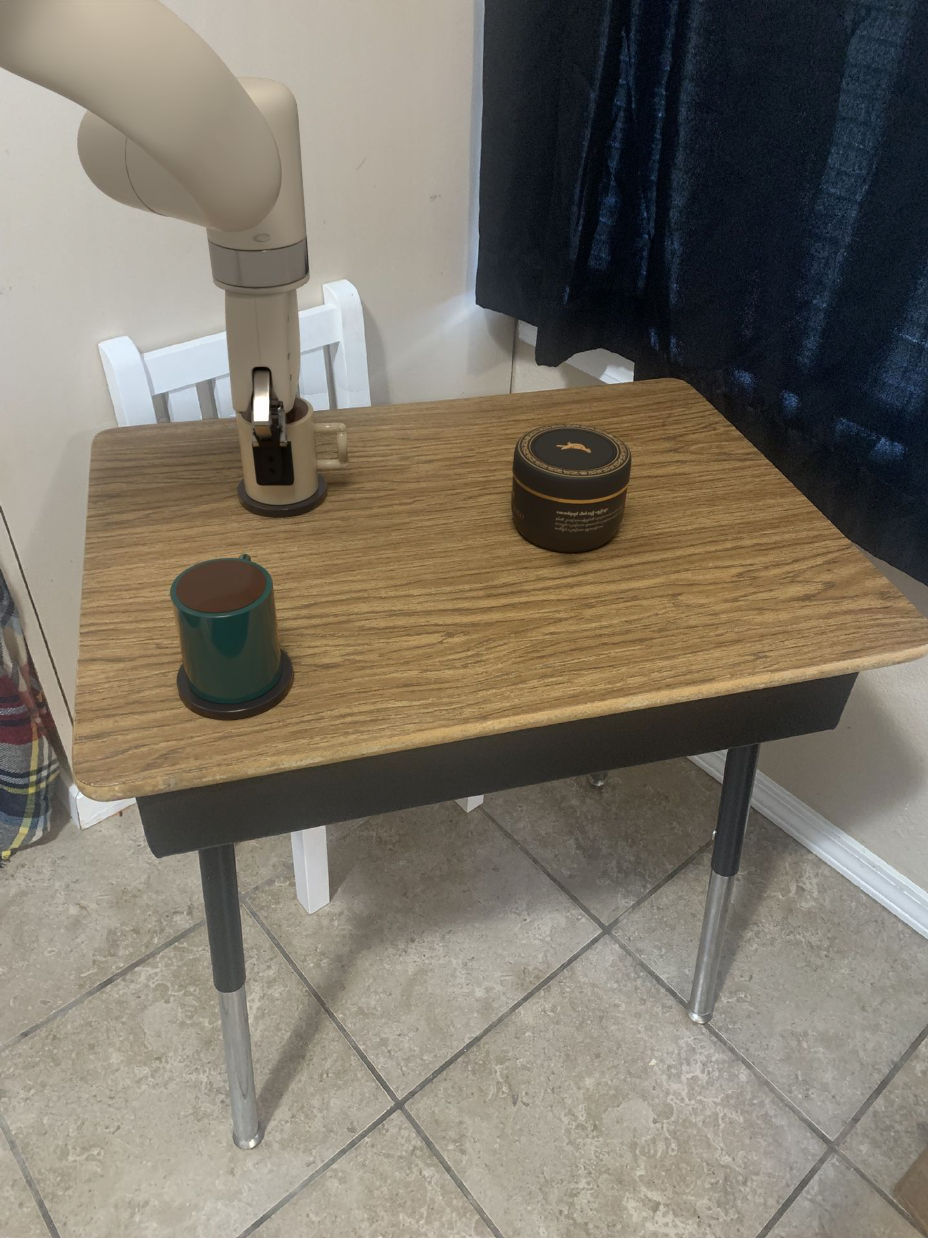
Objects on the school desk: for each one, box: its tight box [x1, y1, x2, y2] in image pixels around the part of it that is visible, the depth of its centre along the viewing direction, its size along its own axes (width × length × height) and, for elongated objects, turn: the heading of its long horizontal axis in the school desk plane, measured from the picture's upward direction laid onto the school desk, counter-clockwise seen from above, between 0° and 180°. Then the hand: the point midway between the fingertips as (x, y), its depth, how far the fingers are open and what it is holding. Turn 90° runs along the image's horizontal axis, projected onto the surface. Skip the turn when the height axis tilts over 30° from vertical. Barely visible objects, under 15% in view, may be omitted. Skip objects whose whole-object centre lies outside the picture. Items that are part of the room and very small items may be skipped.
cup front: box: [169, 553, 282, 704], centre depth 67 cm, size 9×7×8 cm
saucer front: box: [175, 647, 294, 721], centre depth 69 cm, size 8×8×1 cm
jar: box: [510, 423, 632, 553], centre depth 84 cm, size 10×10×8 cm
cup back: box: [235, 395, 349, 505], centre depth 86 cm, size 9×7×8 cm
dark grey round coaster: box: [236, 472, 328, 518], centre depth 89 cm, size 8×8×1 cm
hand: (280, 460), depth 87 cm, fingers closed on cup back, 6 cm apart
